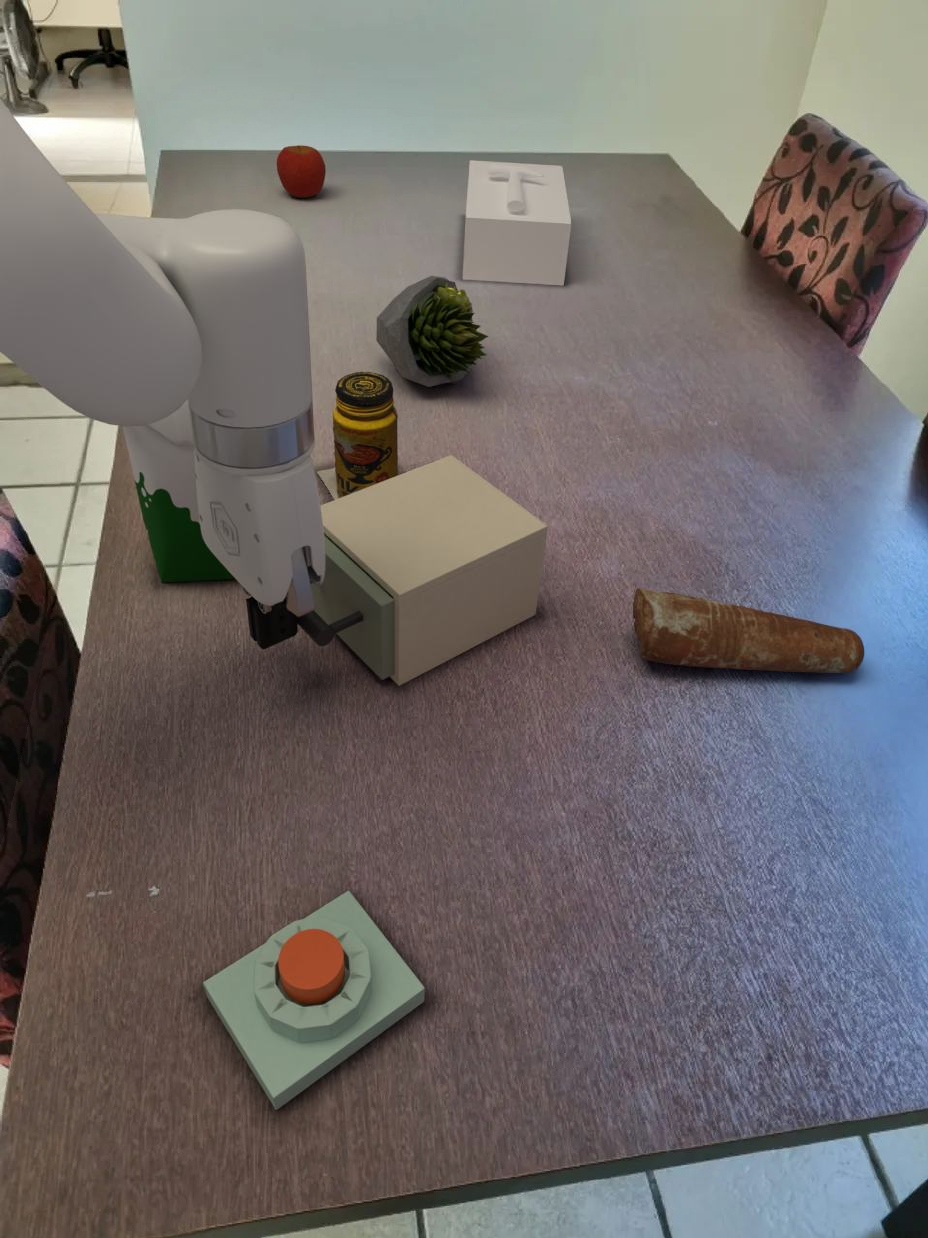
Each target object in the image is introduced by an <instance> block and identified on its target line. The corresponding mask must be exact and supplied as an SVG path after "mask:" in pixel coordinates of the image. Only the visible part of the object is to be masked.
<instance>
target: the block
mask: <svg viewBox="0 0 928 1238" xmlns="http://www.w3.org/2000/svg"><path fill="white" fill-rule="evenodd" d="M308 929H320V930H324V931H327V932H329V933H331V934H332V935H334V936H335V937H336V938H337V939H338V941H339V942H340V944H341V946H342V948H343V953H344V965H345V975H344V980H343V982H342V985H341V986H340V988H339V990H338V991H337V992H336V993H335V994H334V995H333V996H332V997H330V998H329V999H327V1000H325V1001H323V1002H320V1003H316V1004H304V1003H300V1002H297V1001H295V1000H293V999H292V998H290V997H289V996H288V995H287V993H286V992H285V991H284V989H283V986H282V983H281V978H280V972H279V966H278V958H279V954H280V951H281V949H282V947H283V945H284V944H285V943H286V942H287V940H288V939H289V938H291V937H292V936H293V935H295V934H296V933H298V932H301V931H304V930H308ZM202 985H203V988H204V993H205V995H206V998H207V999H208V1002H210V1004H211V1006H212V1008H213V1009H214V1011H215V1012H216V1014H217V1016H218V1017H219V1019H220V1021H221V1023H222V1024H223V1026H224V1027H225V1029H226V1031H227V1033H228V1034H229V1035H230V1037H231V1040H233V1042H234V1044H235V1045H236V1047H237V1049H238V1050H239V1051H240V1053H241V1056H242V1057H243V1059H244V1060H245V1062H246V1063H247V1066H248V1067H249V1069H250V1070H251V1072H252V1074H253V1075H254V1077H255V1078H256V1080H257V1081H258V1083H259V1085H260V1086H261V1088H262V1090H263V1091H264V1094H265V1095H266V1097H267V1098H268V1099H269V1102H270V1103H271V1105H272V1106H273V1108H274V1110H275V1111H278V1110H279V1109H280V1108H281V1107H283V1106H284V1105H286V1104H287V1103H289V1102H290V1101H291V1100H293V1099H294V1098H295V1097H296V1096H298V1095H299V1094H301V1093H302V1092H304V1090H306V1089H307V1088H309V1087H310V1086H311V1085H313V1084H314V1083H316V1082H317V1081H318V1080H319V1079H321V1078H322V1077H323V1076H325V1075H326V1074H328V1073H329V1072H330V1071H332V1070H333V1069H334V1068H336V1067H337V1066H339V1065H340V1064H341V1063H343V1062H344V1061H345V1060H347V1059H348V1058H349V1057H351V1056H353V1055H354V1054H355V1053H357V1051H359V1050H361V1049H362V1048H363V1047H365V1046H366V1045H367V1044H368V1043H371V1041H373V1040H374V1039H375V1038H377V1037H378V1036H379V1035H381V1034H382V1033H383V1032H384V1031H387V1030H388V1029H389V1028H390V1027H392V1026H393V1025H395V1024H396V1023H397V1022H399V1021H400V1020H401V1019H403V1018H404V1017H405V1016H406V1015H408V1014H409V1013H411V1012H412V1011H414V1010H415V1009H416V1008H417V1007H418V1006H420V1005H422V1004H423V1003H425V996H426V995H425V994H426V993H425V992H426V987H425V986H424V985H423V983H422V982H421V981H420V979H419V978H418V977H417V976H416V975H415V973H414V972H413V971H412V969H411V968H410V967H409V965H408V964H407V963H406V962H405V960H404V958H402V956H401V955H400V954H399V952H397V950H396V949H395V948H394V946H393V945H392V943H390V940H388V938H386V936H385V935H384V934H383V932H382V931H381V929H380V928H379V927H378V926H377V924H375V922H374V920H372V918H371V916H370V915H369V914H368V913H367V912H366V911H365V909H364V908H363V906H362V905H361V904H360V903H359V902H358V900H357V898H355V896H354V895H353V894H352V893H351V891H350V890H347V891H345V892H343V893H342V894H340V895H338V896H337V897H336V898H334V899H333V900H331V901H329V902H328V903H326V904H324V905H323V906H321V907H320V908H319V909H317V910H315V911H313V912H312V913H311V914H309V915H307V916H306V917H303V919H296V920H293V921H292V922H291V923H289V924H287V925H286V926H284V927H283V928H281V929H279V930H278V931H276V932H274V933H273V934H272V935H271V936H270V937H269V938H268V939H267V941H266V942H264V943H263V944H261V945H260V946H259V947H256V948H255V949H253V950H252V951H251V952H249V953H247V954H246V955H243V956H242V957H240V958H239V959H238V960H236V961H234V962H233V963H232V964H230V965H228V966H227V967H225V968H223V969H222V970H220V971H218V972H217V973H215V974H214V975H213V976H211V977H209V978H208V979H206V980H204V981H203V982H202Z"/></svg>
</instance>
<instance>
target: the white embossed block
mask: <svg viewBox="0 0 928 1238" xmlns="http://www.w3.org/2000/svg"><path fill="white" fill-rule="evenodd" d="M563 169H564V168H563V165H555V164H554V165H553V164H550V165H549V164H539V163H538V164H536V163H519V162H502V161H487V160H472V159H471V160H469V167H468V177H467V179H468V181H467V191H466V193H467V195H466V206H465V207H466V208H465V223H464V224H465V225H464V243H463V262H462V263H463V266H462V280H463V281H478V282H479V281H480V282H481V281H482V282H494V283H495V282H497V283H512V284H514V283H515V284H529V285H546V286H563V287H564V284H565V278H566V270H567V263H568V255H569V254H568V253H569V247H570V238H571V230H572V219H571V213H570V206H569V199H568V195H567V188H566V182H565V175H564V170H563Z"/></svg>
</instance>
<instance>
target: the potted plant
mask: <svg viewBox="0 0 928 1238" xmlns="http://www.w3.org/2000/svg"><path fill="white" fill-rule="evenodd" d="M472 305H473V304H472V302H471V301H470V298H469V296H468V295H467V291H466V290H465V289H463V288H461V289H460V290H459V289H458V288H457V283H456V282H455V281H452V280H449V279H448V278H447V277H445V276H439V275H438V276H437V275H429V276H427V277H425V278H423V279H421V280H419V281H416V282H414V283H412V284H410V285H408V286H406V287H405V288H404V289H403V290H402V291H401V292H399V294H397V295H396V296H395V297H394V298H393V299H392V300H391V301H390V302H389V303H388V304H387V306H386V307H385V308H384V309H383V310H382V311H381V312H380V314H379V315H378V316H376V342H377V344H378V345H379V347H380V348H381V349H382V350H383V352H384V353H385V355H386V356H387V357H388V359H389V360H390V361H391V363H392V364H393V365H394V367H395V368H396V369H397V371H398V373H399V374H400V376H401V377H402V378H404V379H406V380H409V381H412V382H414V383H417V384H420V385H422V386H425V387H428V388H430V387H433V386H439V385H442V384H453V385H457V384H458V383H459V382H461V381H462V380H463V379H464V378H465V376H466V374H467V373H470V371H469V370H472V368H471V367H472V366H478V364H477V363H476V362H475V361H478V359H480V360H482V359H483V358H482V357H486V356H488V354H487V353H485V352H484V351H483V350H482V349H485V348H486V347H485V346H483V344H482V343H480V342H482V341H484V340H485V339H487V338H489V337H490V336H489V335H486V334H484V333H482V332H480V331H478V329H480V328H481V325H480V324H475V322H474V321H473V316H474V314H475V312H473V310H474V309H473V306H472Z"/></svg>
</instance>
